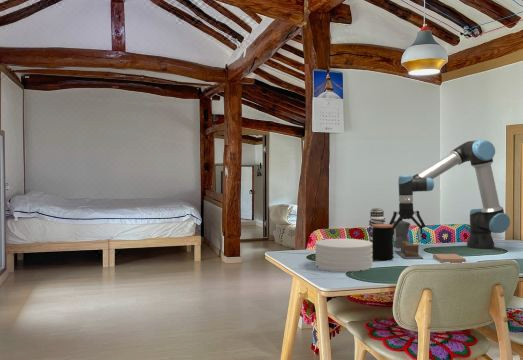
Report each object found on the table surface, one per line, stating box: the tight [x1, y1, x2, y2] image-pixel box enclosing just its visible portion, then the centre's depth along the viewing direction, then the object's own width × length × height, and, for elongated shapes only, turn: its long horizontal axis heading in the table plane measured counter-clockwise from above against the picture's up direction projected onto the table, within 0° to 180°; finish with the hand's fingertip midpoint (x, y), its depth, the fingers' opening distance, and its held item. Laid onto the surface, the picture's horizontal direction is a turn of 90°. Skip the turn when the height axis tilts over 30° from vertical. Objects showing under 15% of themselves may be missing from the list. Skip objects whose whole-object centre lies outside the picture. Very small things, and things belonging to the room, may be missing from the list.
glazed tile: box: [432, 253, 467, 264], centre depth 242 cm, size 12×2×14 cm
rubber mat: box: [394, 250, 424, 260], centre depth 258 cm, size 10×22×1 cm, turn 177°
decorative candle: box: [368, 207, 386, 251], centre depth 269 cm, size 9×9×25 cm
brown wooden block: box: [400, 240, 420, 257], centre depth 259 cm, size 18×7×6 cm, turn 177°
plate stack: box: [315, 238, 374, 272], centre depth 233 cm, size 28×28×12 cm
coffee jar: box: [372, 223, 394, 261], centre depth 249 cm, size 11×11×18 cm
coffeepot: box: [392, 219, 411, 249], centre depth 285 cm, size 15×9×18 cm, turn 33°
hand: (406, 240), depth 263 cm, fingers open, 13 cm apart
